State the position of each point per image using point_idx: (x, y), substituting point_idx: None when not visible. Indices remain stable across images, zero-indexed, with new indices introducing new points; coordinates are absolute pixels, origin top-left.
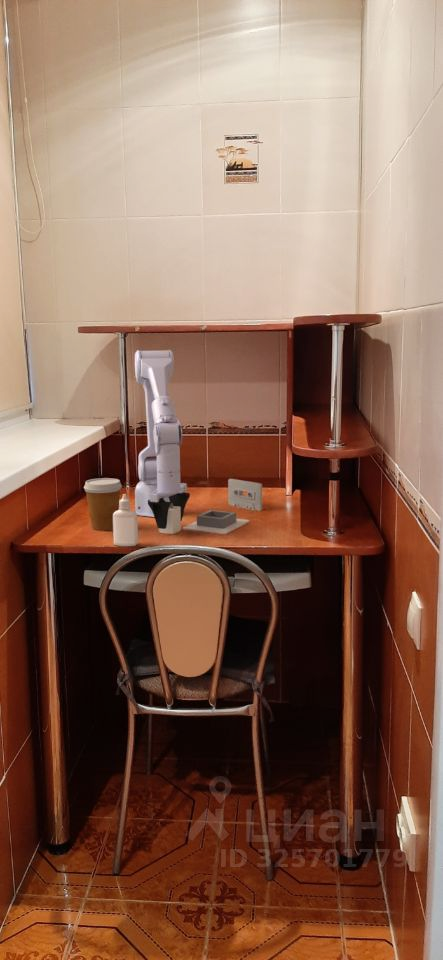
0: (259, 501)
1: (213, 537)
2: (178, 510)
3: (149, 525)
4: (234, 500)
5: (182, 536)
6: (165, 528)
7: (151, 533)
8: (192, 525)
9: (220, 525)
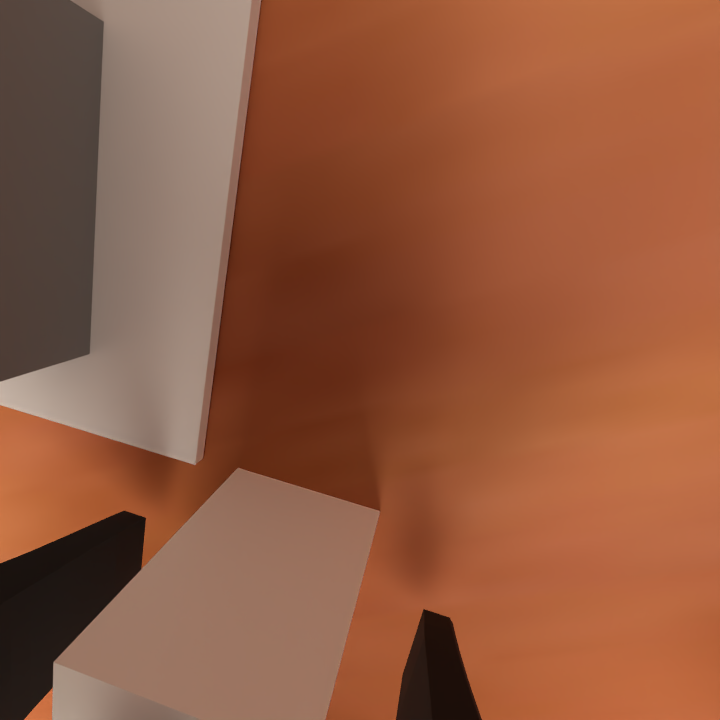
0: None
1: (435, 36)
2: (144, 643)
3: None
4: None
5: (455, 403)
6: (431, 612)
7: None
8: (103, 395)
9: (74, 48)
